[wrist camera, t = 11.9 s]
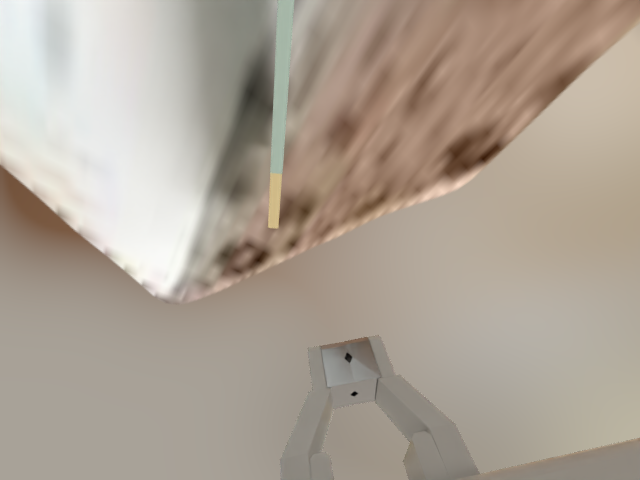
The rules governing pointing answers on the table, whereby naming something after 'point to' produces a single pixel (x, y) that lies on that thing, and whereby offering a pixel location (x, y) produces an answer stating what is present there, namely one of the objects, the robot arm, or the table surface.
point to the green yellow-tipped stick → (280, 104)
